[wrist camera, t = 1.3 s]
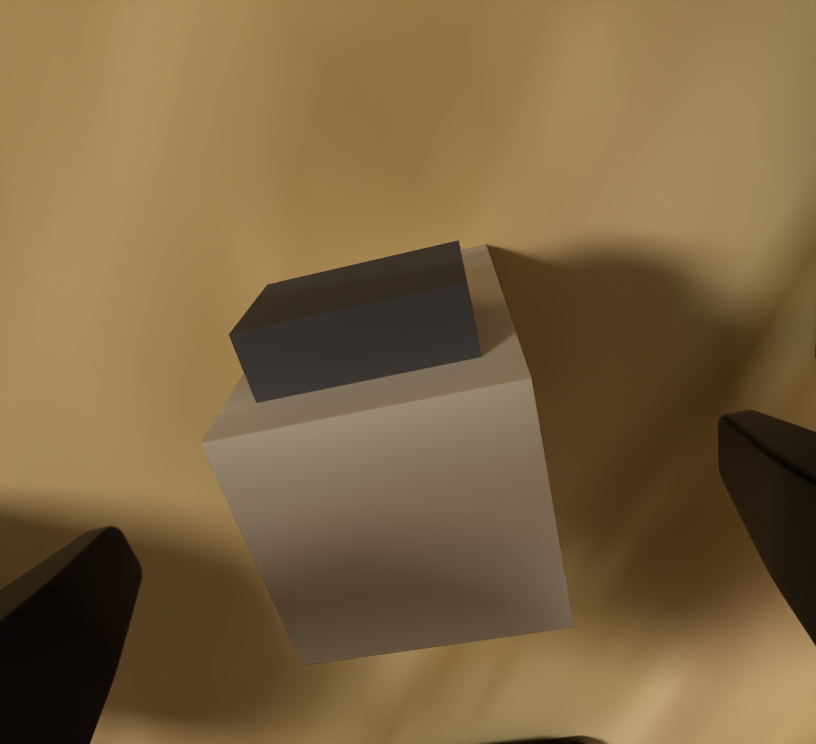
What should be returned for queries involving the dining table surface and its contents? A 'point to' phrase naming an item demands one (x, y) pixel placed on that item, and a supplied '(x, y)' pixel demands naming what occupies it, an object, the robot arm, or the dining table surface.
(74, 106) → the dining table surface
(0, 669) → the robot arm
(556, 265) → the dining table surface
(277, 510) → the block
